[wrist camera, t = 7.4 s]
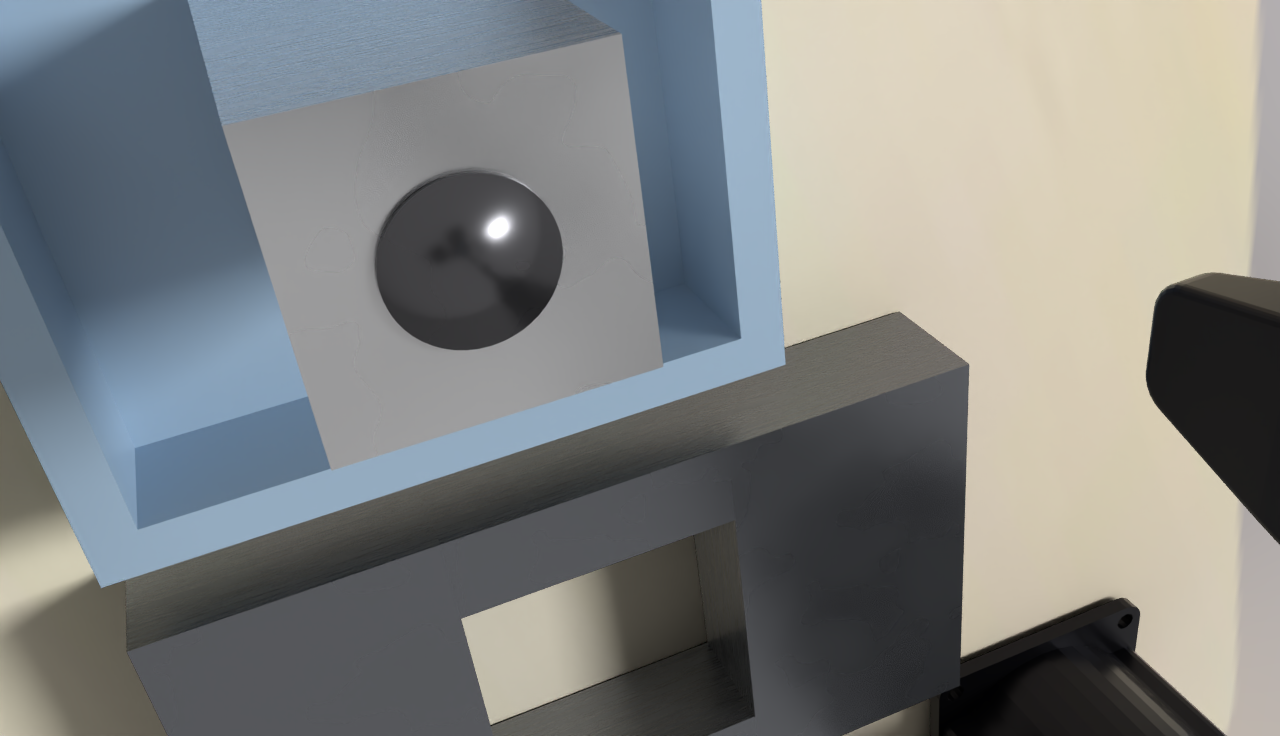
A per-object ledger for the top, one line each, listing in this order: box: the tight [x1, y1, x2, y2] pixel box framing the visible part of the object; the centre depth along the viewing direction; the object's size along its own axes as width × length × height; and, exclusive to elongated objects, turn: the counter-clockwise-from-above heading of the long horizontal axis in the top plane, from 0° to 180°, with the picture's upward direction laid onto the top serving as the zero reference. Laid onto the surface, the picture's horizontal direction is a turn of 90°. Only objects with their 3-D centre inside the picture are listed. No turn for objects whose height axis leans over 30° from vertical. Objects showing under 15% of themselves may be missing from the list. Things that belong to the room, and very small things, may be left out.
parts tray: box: [0, 0, 786, 588], centre depth 17 cm, size 12×12×3 cm
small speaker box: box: [188, 0, 663, 471], centre depth 15 cm, size 4×4×7 cm
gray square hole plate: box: [125, 312, 969, 736], centre depth 24 cm, size 16×9×2 cm, turn 97°
